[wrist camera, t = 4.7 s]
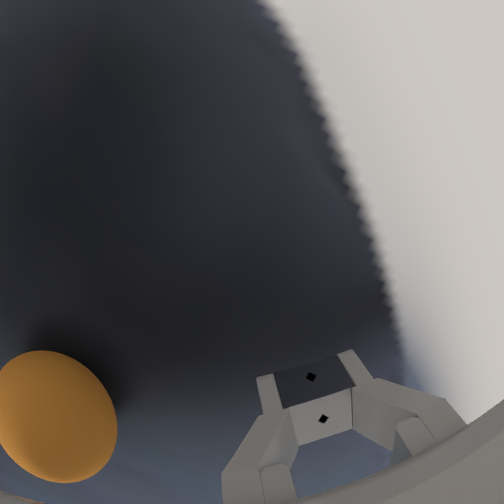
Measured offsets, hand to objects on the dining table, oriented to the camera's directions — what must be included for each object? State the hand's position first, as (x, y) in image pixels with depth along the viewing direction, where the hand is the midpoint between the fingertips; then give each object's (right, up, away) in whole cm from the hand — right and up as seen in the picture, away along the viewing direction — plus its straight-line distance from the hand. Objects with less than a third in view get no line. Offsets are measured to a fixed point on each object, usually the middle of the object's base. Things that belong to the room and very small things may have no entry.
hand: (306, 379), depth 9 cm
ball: (-9, -3, 0) cm, 10 cm away
